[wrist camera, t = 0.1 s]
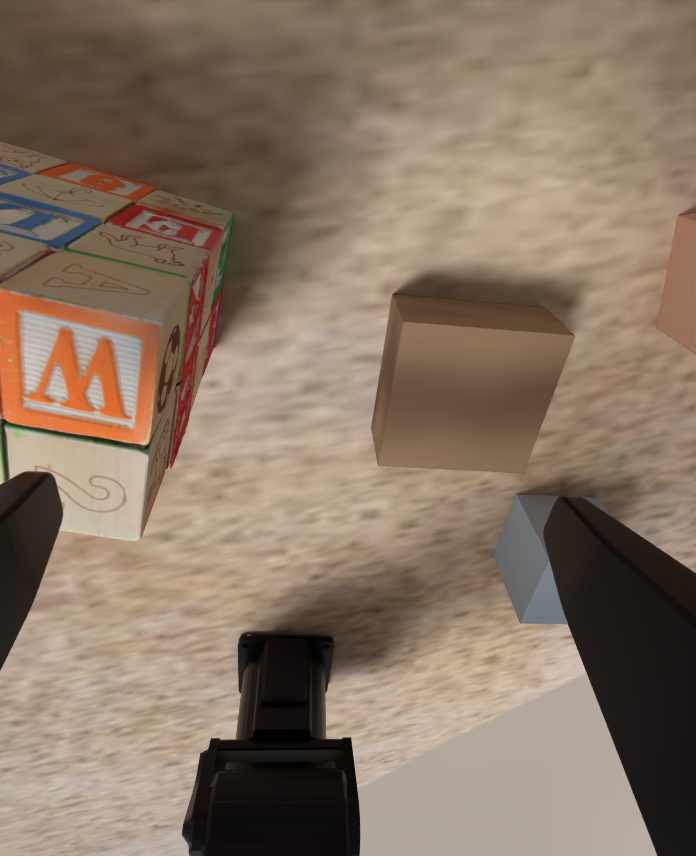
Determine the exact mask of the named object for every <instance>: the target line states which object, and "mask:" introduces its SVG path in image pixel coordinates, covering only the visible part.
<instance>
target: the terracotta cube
mask: <svg viewBox="0 0 696 856" xmlns="http://www.w3.org/2000/svg"><path fill="white" fill-rule="evenodd" d="M656 328H657V329H659V330H660V331H662V332H663V333H665V334H666V335H668V336H669V337H671V338H672V339H674V340H675V341H676V342H678V343H679V344H681V345H682V346H684V347H685V348H687V349H688V350H690V351H691V352H693V353H694V354H696V212H695V213H690V214H684V215H678V217H677V222H676V227H675V232H674V238H673V243H672V248H671V253H670V258H669V263H668V268H667V274H666V279H665V284H664V289H663V294H662V299H661V304H660V310H659V315H658V320H657V325H656Z"/></svg>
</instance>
